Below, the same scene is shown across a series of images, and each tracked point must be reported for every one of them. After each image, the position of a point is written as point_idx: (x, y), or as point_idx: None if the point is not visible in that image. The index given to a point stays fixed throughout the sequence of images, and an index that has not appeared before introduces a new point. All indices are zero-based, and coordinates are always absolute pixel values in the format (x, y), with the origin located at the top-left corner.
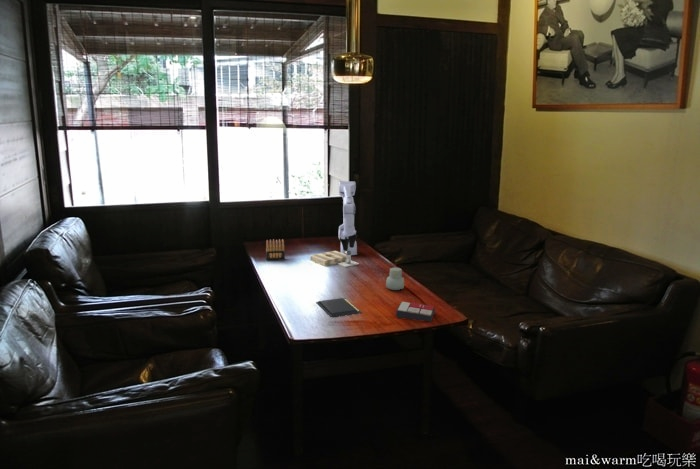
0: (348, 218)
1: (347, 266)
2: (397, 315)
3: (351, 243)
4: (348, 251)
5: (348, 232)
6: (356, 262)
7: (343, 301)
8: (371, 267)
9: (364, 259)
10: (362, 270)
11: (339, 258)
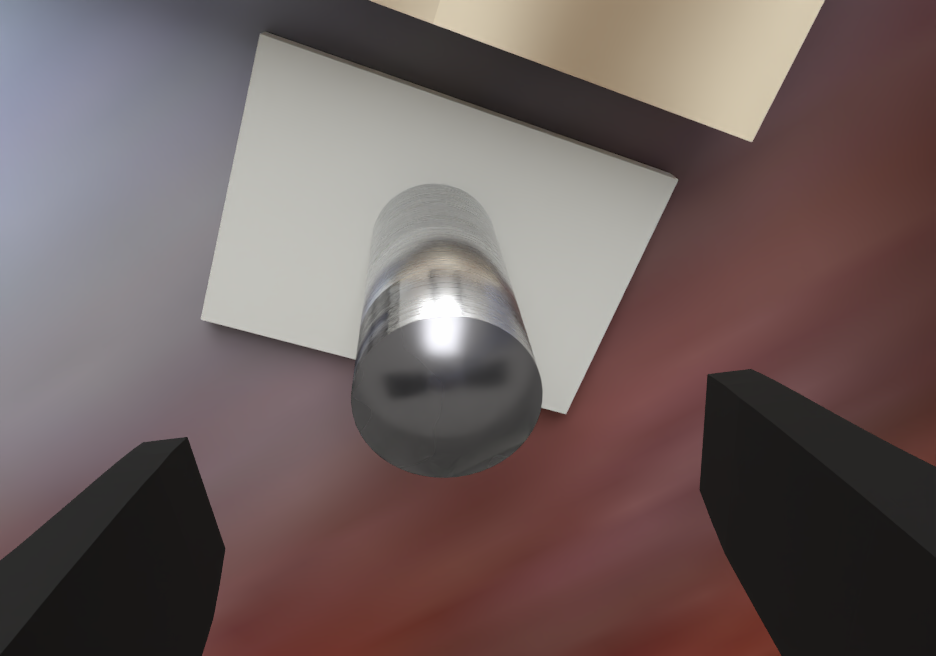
0: None
1: (268, 328)
2: None
3: (788, 554)
4: (432, 417)
5: None
6: (586, 350)
7: None
8: (508, 620)
9: (928, 310)
10: (276, 608)
11: (391, 7)
